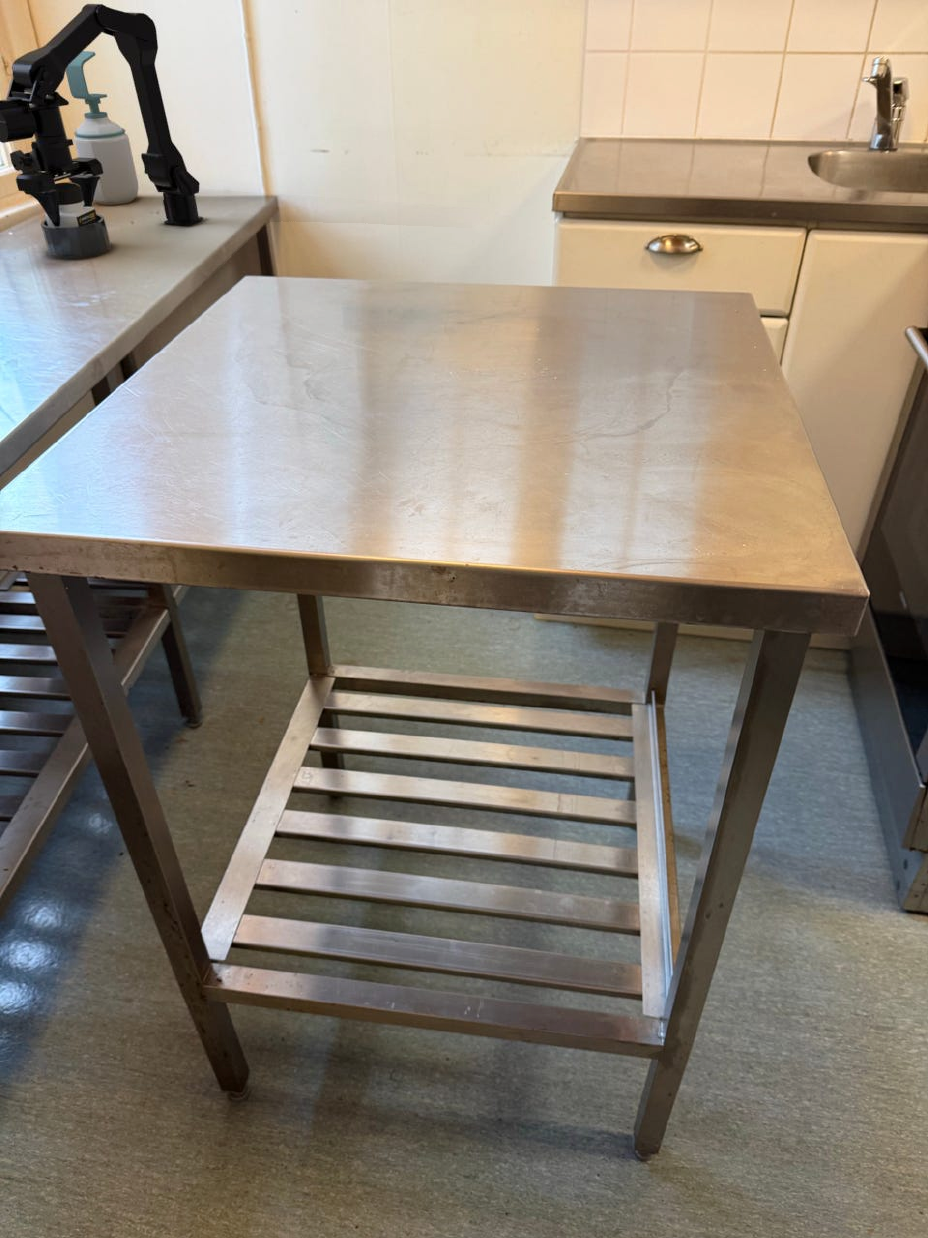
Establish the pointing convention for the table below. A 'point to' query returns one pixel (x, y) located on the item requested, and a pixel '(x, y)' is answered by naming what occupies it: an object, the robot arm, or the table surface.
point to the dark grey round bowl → (77, 240)
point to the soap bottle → (102, 141)
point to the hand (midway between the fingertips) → (72, 220)
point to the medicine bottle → (72, 207)
